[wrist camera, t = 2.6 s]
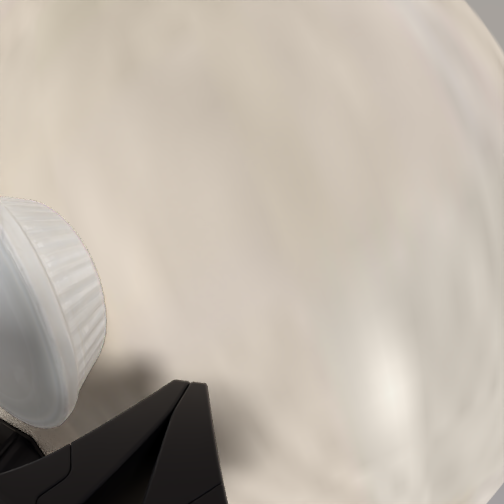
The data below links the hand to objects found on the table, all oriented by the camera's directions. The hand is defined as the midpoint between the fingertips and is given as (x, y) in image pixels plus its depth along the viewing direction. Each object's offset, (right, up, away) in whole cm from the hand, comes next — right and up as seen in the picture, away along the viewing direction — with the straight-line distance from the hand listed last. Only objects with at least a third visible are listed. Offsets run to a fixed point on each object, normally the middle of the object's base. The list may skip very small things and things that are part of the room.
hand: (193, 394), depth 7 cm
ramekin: (-10, +2, +7) cm, 12 cm away
